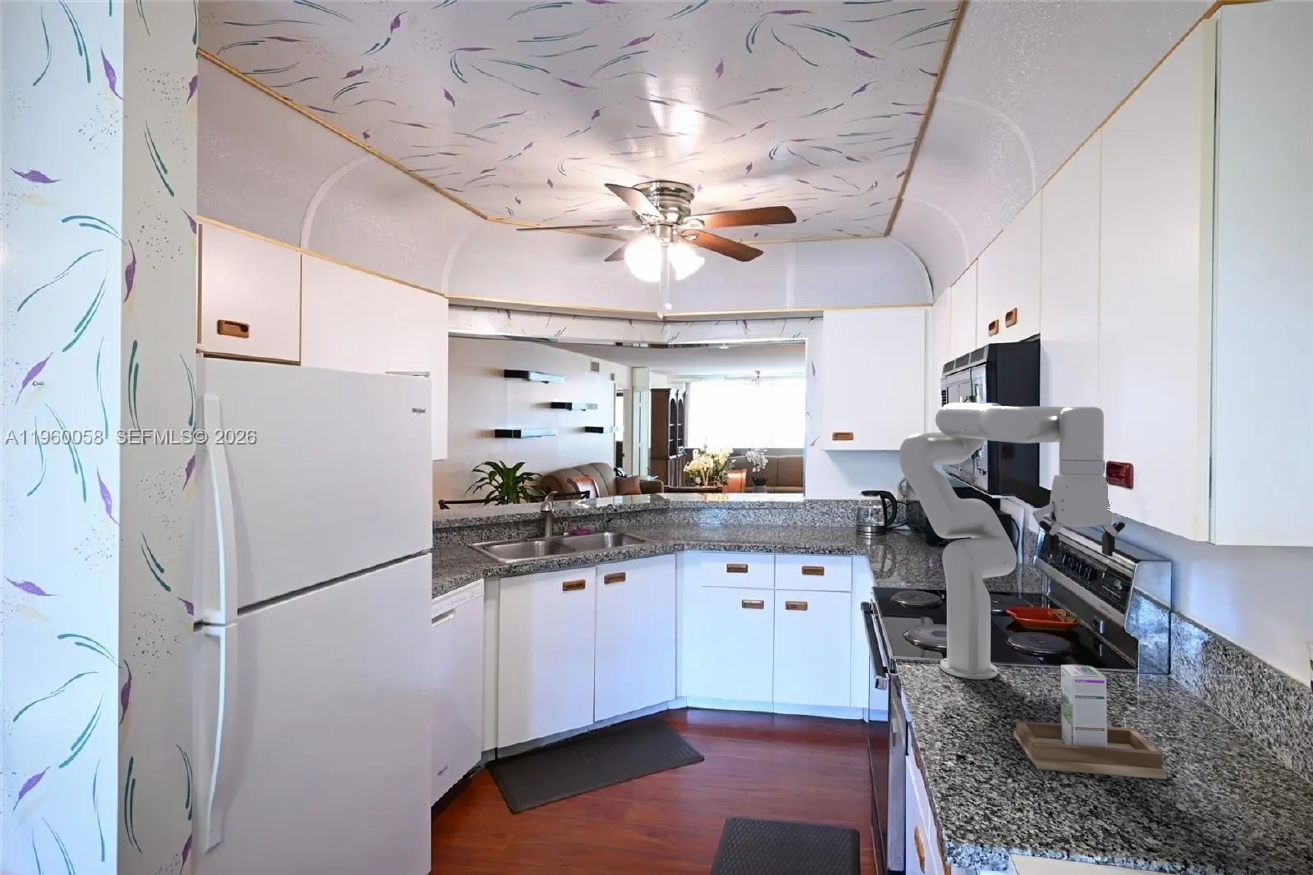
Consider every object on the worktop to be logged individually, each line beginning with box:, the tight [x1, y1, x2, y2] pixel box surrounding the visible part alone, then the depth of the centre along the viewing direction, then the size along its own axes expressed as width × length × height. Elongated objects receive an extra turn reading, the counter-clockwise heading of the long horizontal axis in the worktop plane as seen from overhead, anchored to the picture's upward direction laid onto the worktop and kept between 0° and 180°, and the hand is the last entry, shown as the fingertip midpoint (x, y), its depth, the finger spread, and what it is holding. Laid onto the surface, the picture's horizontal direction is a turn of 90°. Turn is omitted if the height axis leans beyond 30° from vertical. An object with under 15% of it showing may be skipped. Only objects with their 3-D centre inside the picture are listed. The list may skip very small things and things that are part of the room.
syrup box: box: [1060, 664, 1108, 747], centre depth 125 cm, size 6×6×14 cm
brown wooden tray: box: [1013, 720, 1168, 780], centre depth 125 cm, size 13×20×4 cm, turn 79°
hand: (1080, 554), depth 139 cm, fingers open, 9 cm apart
